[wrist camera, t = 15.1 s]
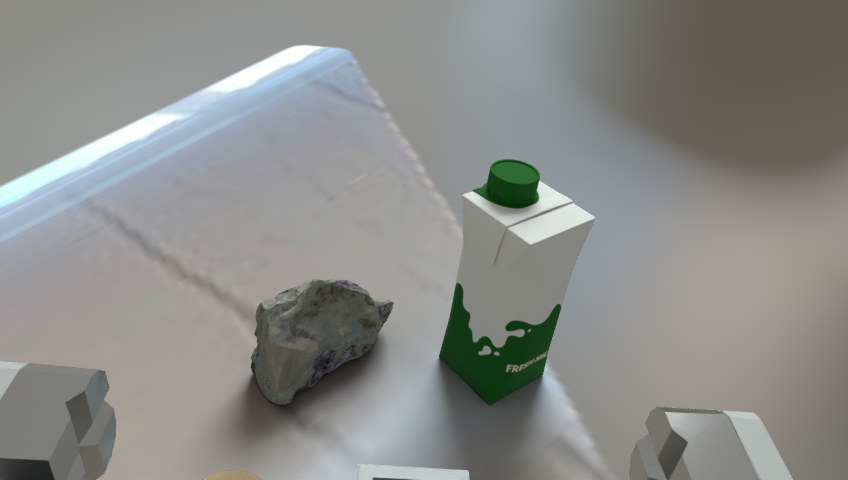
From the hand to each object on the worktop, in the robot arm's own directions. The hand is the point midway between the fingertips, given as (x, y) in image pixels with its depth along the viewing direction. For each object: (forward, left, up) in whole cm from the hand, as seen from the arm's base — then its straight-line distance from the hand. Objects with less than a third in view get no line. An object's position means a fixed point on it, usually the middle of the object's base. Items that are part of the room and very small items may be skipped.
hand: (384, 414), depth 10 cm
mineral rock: (-4, +38, -38) cm, 54 cm away
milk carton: (+12, +39, -38) cm, 56 cm away
